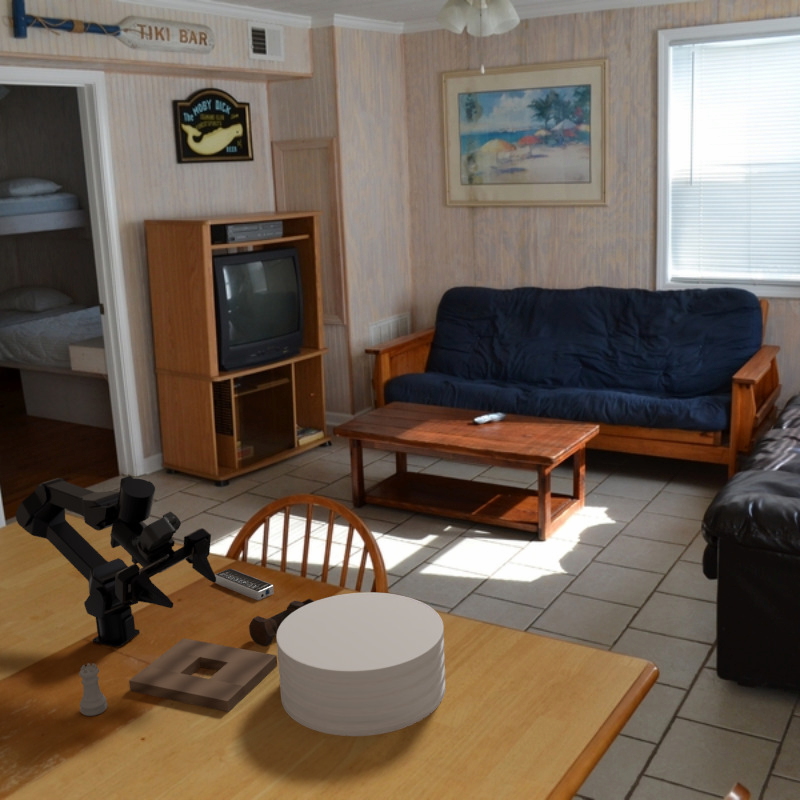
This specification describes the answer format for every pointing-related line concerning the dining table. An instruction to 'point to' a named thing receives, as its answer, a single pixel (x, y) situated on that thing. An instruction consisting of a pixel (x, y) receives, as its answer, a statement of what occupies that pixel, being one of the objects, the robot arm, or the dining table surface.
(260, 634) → the bolt
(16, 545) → the dining table surface
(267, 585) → the multiport hub
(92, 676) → the rook chess piece
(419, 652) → the plate stack
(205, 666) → the socket board
